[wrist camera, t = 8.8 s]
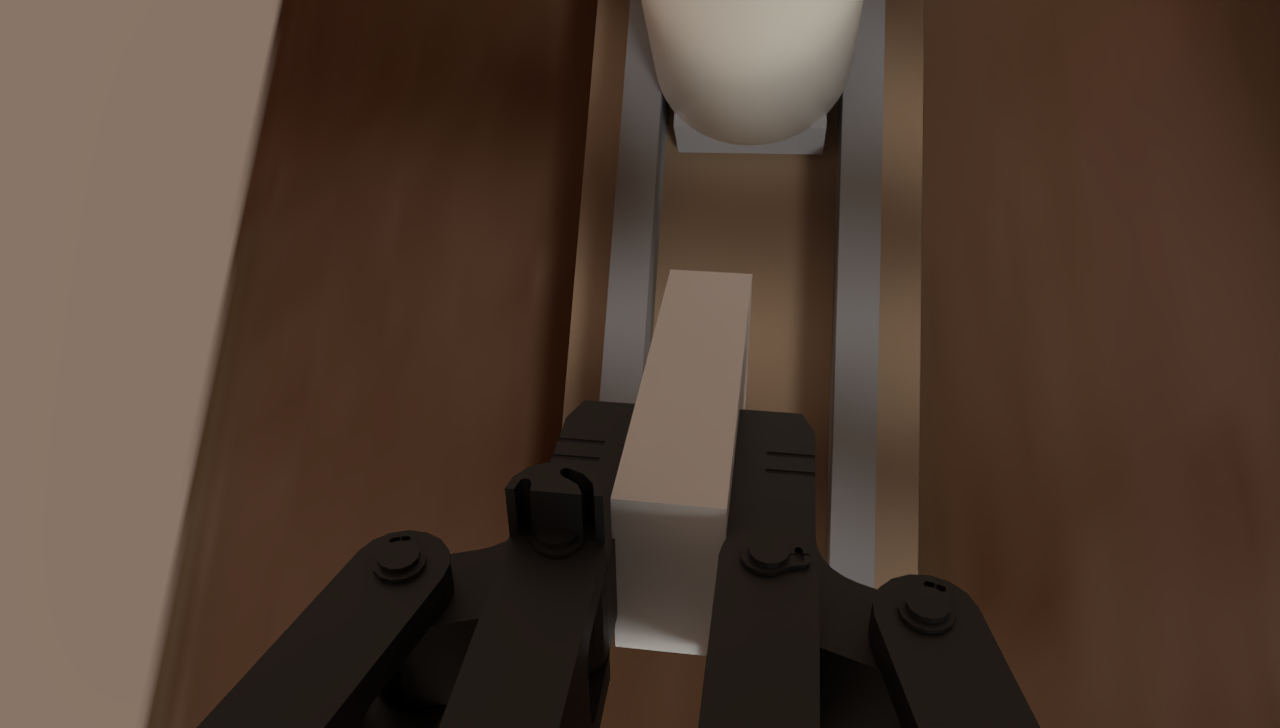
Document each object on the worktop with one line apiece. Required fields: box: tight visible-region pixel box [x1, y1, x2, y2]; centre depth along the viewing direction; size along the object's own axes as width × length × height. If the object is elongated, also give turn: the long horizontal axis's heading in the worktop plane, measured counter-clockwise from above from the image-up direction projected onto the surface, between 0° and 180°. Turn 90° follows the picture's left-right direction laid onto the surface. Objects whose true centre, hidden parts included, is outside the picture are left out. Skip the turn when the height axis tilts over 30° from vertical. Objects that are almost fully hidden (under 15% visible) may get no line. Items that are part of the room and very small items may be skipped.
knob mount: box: [562, 0, 924, 589], centre depth 26 cm, size 20×9×5 cm, turn 176°
